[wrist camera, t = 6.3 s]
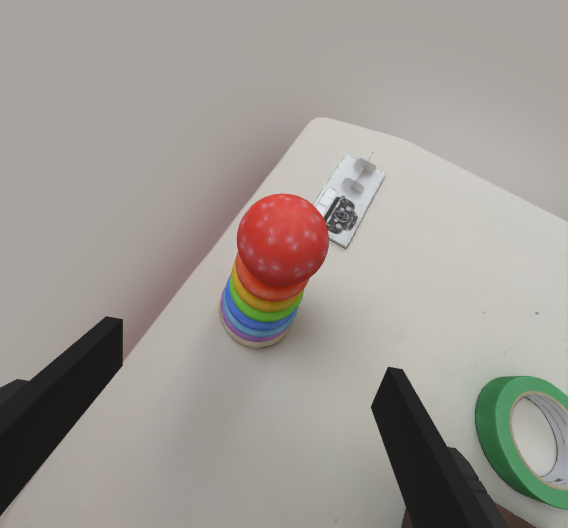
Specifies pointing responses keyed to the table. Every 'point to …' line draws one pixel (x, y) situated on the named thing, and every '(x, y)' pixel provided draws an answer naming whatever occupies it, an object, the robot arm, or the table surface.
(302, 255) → the stacking toy
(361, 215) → the car cutout
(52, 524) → the table surface
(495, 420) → the tape roll
